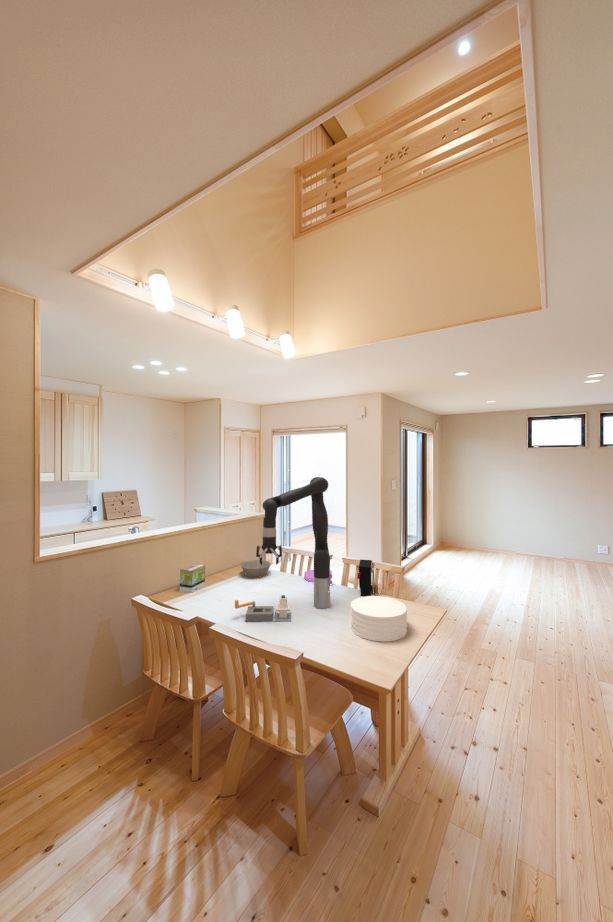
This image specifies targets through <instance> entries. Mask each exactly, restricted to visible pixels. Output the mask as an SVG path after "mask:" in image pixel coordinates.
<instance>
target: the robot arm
mask: <svg viewBox="0 0 613 922" xmlns="http://www.w3.org/2000/svg"><path fill="white" fill-rule="evenodd" d="M328 489H329V481H328V480H327V479H326V478H324V477H322V476H321V477H320V476H315V477H312V478H311V480H310V482H309V483H308V484H307V485H305V486H301V487H297V488H294V489H291V490H288V491H286V492H284V493H281V494H279V495H276V496H273V497H270V498H267V499H265V500H264V501H263V503H262V509H263V510H264V517H263V525H262V545H259V544H258V545H257V546H256V551H255V552H256V554H255V556H256V557H257V558H259V560H260V564H261V565H262V560H263V556H264V555H265V554H266V555H268V554H270V555H272V554H273V555H274V556H275V565H276V566H277V565H278V564H279V563H280V559H279V558H281V557H282V556H283V551H282V550H283V549H282V545H281V544H280V545H277V520H276V519H277V514H278V508H281V507H286V506H288V505H291V504H293V503H296V502H298V501H300V500H302V499H304V498H307V497H310V496H311V497H310V498H311V519H312V520H311V524H312V532H313V535H314V553H313V570H314V583H313V607H314V608H315V609H318V610H326V609H330V608H331V587H330V586H331V585H330V570H331V567H330V566H331V565H330V563H331V562H330V561H331V559H330V558H331V557H330V555H331V554H330V550H329V544H328V535H329V534H328V533H329V520H328V519H329V515H328V511H327V508H326V505H325V501H324V492H326V491H327V490H328ZM260 550H262V552H261V553H260ZM277 550H279V551H278V552H279V554H278V552H277Z"/></svg>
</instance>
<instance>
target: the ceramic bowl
mask: <svg viewBox="0 0 613 922" xmlns="http://www.w3.org/2000/svg"><path fill="white" fill-rule="evenodd" d="M271 565H272V564H271V562H270V561H267V560H264V559H262V565H261V564H260V559H257V560H254V559H253V560H248V561H243V562H241V563H240V564H239V566H240V567H241V569H242V571H243V573H244V574H245V575H246V576H247V577H248V578H252V579H257V578H262V577H264V576H265V575H266V574H267V573H268V571H269V569H270V568H271Z"/></svg>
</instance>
